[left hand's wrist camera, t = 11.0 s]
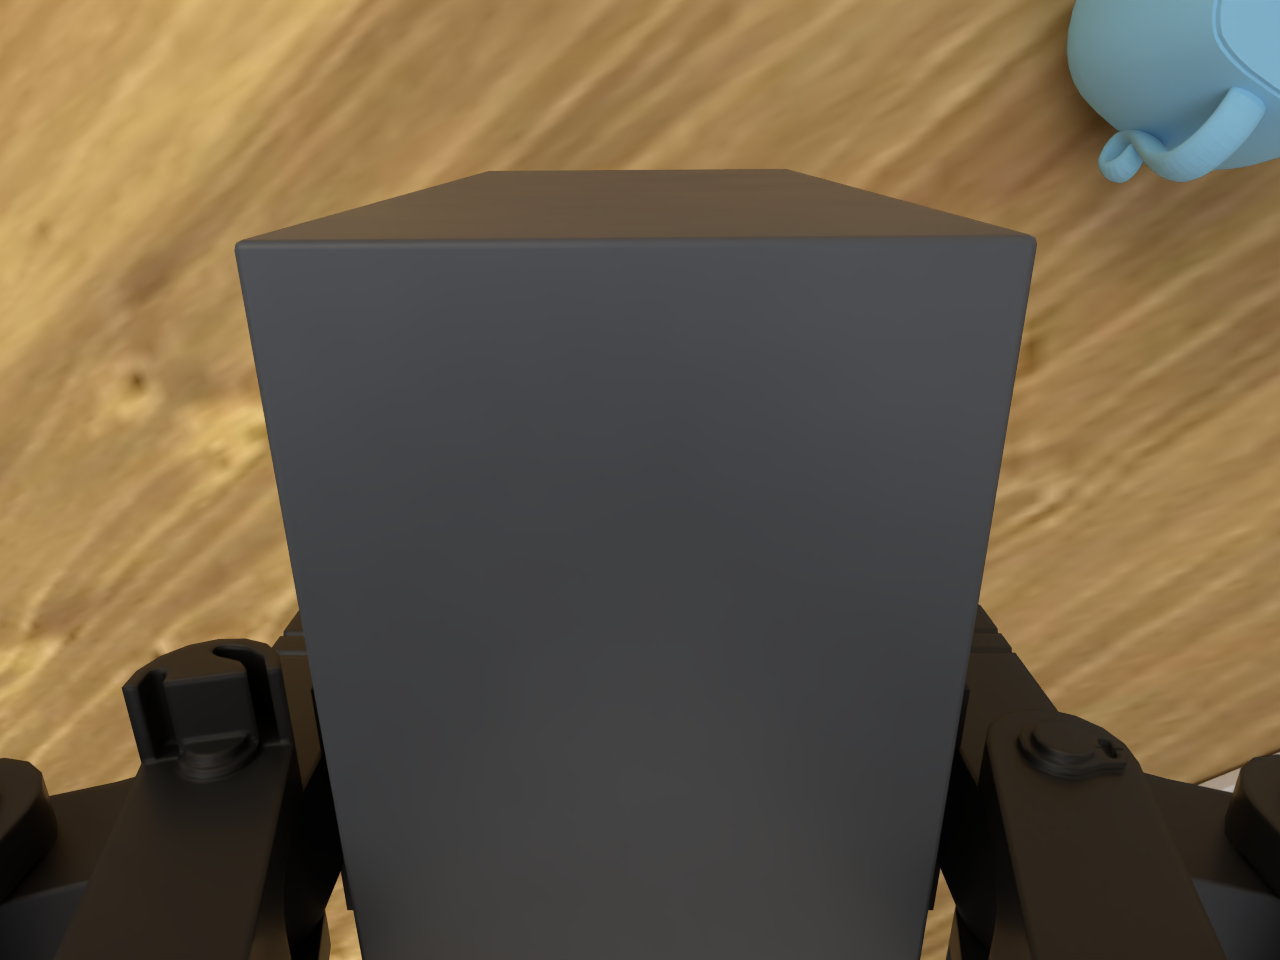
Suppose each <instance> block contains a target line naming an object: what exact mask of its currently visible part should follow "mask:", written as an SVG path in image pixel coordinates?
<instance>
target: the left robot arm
mask: <svg viewBox="0 0 1280 960" xmlns="http://www.w3.org/2000/svg"><path fill="white" fill-rule="evenodd" d="M122 691H123V695H124V698H125V702H126V706H127V710H128V714H129V717H130V721H131V725H132V729H133V733H134V736H135V740H136V744H137V748H138V752H139V755H140V759H141V763H142V764H141V766H140V768H139V770H138V772H137V775H136V777H133V778H129V779H126V780H122V781H118V782H115V783H110V784H105V785H100V786H95V787H91V788H86V789H81V790H76V791H72V792H67V793H62V794H57V795H53V796H49V795H48V791H47V788H46V785H45V782H44V779H43V776H42V772H40V771H39V770H38V769H37V768H36V767H34V766H33V765H32V764H31V763H30V762H27V761H21V760H15V759H9V758H0V960H329V956H330V947H331V943H330V936H329V929H328V923H327V917H326V912H325V908H326V906H327V903H328V901H329V898H330V896H331V893H332V891H333V888H334V886H335V884H336V881H337V879H338V876H339V874H340V871H341V875H342V881H343V887H344V893H345V899H346V905H347V910H353V905H352V900H351V894H350V889H349V883H348V878H347V872H346V866H345V861H344V855H343V850H342V844H341V839H340V833H339V828H338V822H337V816H336V811H335V805H334V800H333V794H332V789H331V783H330V778H329V772H328V766H327V761H326V755H325V750H324V744H323V739H322V733H321V728H320V722H319V716H318V711H317V705H316V700H315V694H314V689H313V683H312V678H311V672H310V666H309V661H308V655H307V650H306V644H305V639H304V633H303V628H302V622H301V617H300V611H298V612H297V614H296V615H295V617H294V618H293V619H292V621H291V622H290V623H289V625H288V626H287V628H286V629H285V630H284V635H283V636H280V637H279V639H278V640H277V641H276V643H275V644H274V646H273V647H272V648H271V647H270V646H269V645H268V644H266V643H262V642H257V641H253V640H249V639H217V640H212V641H207V642H202V643H197V644H192V645H188V646H185V647H183V648H180V649H178V650H175V651H172V652H170V653H167V654H165V655H162V656H160V657H158V658H157V659H155V660H153V661H152V662H150V663H149V664H147V665H145V666H144V667H142V668H141V669H139V670H137V671H136V672H135V673H134V674H133V676H132V677H131V678H130V679H129V680H128V681H127V682H126V683H125V685H124V686H123V687H122ZM940 868H941V870H942V873H943V875H944V878H945V880H946V883H947V885H948V887H949V890H950V892H951V895H952V897H953V899H954V902H955V904H956V906H955V912H954V917H953V923H952V929H951V934H950V940H949V945H948V951H947V956H946V960H1280V754H1275V755H1269V756H1262V757H1256V758H1253V759H1252V760H1250V761H1249V762H1248V763H1247V764H1246V765H1244V766H1243V767H1242V768H1241V769H1240V772H1239V775H1238V778H1237V781H1236V785H1235V788H1234V791H1233V793H1232V792H1227V791H1222V790H1218V789H1213V788H1208V787H1203V786H1198V785H1194V784H1189V783H1184V782H1179V781H1174V780H1170V779H1165V778H1162V777H1158V776H1154V775H1151V774H1147V773H1143V771H1142V769H1141V767H1140V764H1139V762H1138V761H1137V760H1136V758H1135V757H1134V756H1133V754H1132V753H1131V752H1130V750H1129V749H1128V748H1127V746H1126V745H1125V744H1124V743H1123V742H1121V741H1120V740H1119V739H1117V738H1116V737H1114V736H1113V735H1112V734H1110V733H1109V732H1108V731H1106V730H1105V729H1103V728H1102V727H1099V726H1097V725H1095V724H1093V723H1090V722H1088V721H1086V720H1084V719H1081V718H1079V717H1077V716H1074V715H1070V714H1066V713H1061V712H1058V711H1057V709H1056V708H1055V706H1054V705H1053V704H1052V702H1051V701H1050V700H1049V698H1048V697H1047V696H1046V694H1045V693H1044V691H1043V690H1042V689H1041V687H1040V686H1039V685H1038V683H1037V682H1036V680H1035V679H1034V678H1033V676H1032V675H1031V674H1030V672H1029V671H1028V670H1027V668H1026V667H1025V665H1024V664H1023V663H1022V661H1021V660H1020V659H1019V657H1018V656H1017V655H1016V653H1012V648H1011V646H1010V645H1009V644H1008V642H1007V641H1006V640H1005V638H1004V637H1003V635H1002V634H1001V633H998V629H997V627H996V626H995V624H994V623H993V622H992V620H991V619H990V618H989V616H988V615H987V614H986V612H985V611H984V609H983V608H982V607H981V606H980V605H979V604H978V608H977V614H976V620H975V626H974V632H973V638H972V645H971V651H970V657H969V663H968V669H967V675H966V681H965V687H964V693H963V700H962V706H961V712H960V718H959V724H958V730H957V736H956V742H955V749H954V755H953V761H952V767H951V773H950V779H949V785H948V791H947V798H946V804H945V810H944V816H943V822H942V828H941V834H940V840H939V846H938V853H937V859H936V865H935V871H934V877H933V883H932V889H931V895H930V902H929V908H928V910H933V908H934V902H935V897H936V891H937V885H938V879H939V873H940Z"/></svg>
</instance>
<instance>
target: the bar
mask: <svg viewBox="0 0 1280 960" xmlns="http://www.w3.org/2000/svg"><path fill="white" fill-rule="evenodd" d="M1036 247H1037V244H1036V239H1035V237H1033V236H1031V235H1028V234H1025V233H1021V232H1017V231H1014V230H1010V229H1006V228H1002V227H999V226H995V225H991V224H988V223H984V222H980V221H976V220H973V219H969V218H965V217H962V216H958V215H954V214H951V213H947V212H943V211H939V210H936V209H932V208H928V207H925V206H921V205H917V204H913V203H910V202H906V201H902V200H899V199H895V198H891V197H888V196H884V195H880V194H876V193H873V192H869V191H865V190H862V189H858V188H854V187H850V186H847V185H843V184H839V183H836V182H832V181H828V180H825V179H821V178H817V177H813V176H810V175H806V174H802V173H799V172H795V171H791V170H787V169H738V170H593V171H488V172H484V173H481V174H477V175H474V176H470V177H466V178H463V179H459V180H456V181H452V182H448V183H445V184H441V185H438V186H434V187H431V188H427V189H423V190H420V191H416V192H413V193H409V194H405V195H402V196H398V197H395V198H391V199H387V200H384V201H380V202H377V203H373V204H370V205H366V206H362V207H359V208H355V209H352V210H348V211H345V212H341V213H337V214H334V215H330V216H327V217H323V218H319V219H316V220H312V221H309V222H305V223H302V224H298V225H294V226H291V227H287V228H284V229H280V230H276V231H273V232H269V233H266V234H262V235H258V236H255V237H251V238H248V239H244V240H241V241H239V242H237V243H236V245H235V256H236V261H237V267H238V272H239V278H240V283H241V289H242V294H243V300H244V306H245V311H246V317H247V322H248V328H249V333H250V339H251V344H252V350H253V355H254V361H255V367H256V372H257V378H258V383H259V389H260V394H261V400H262V405H263V411H264V417H265V422H266V428H267V433H268V439H269V444H270V450H271V455H272V461H273V467H274V472H275V478H276V483H277V489H278V494H279V500H280V505H281V511H282V517H283V522H284V528H285V533H286V539H287V544H288V550H289V555H290V561H291V567H292V572H293V578H294V583H295V589H296V594H297V600H298V605H299V611H300V617H301V622H302V628H303V633H304V639H305V644H306V650H307V655H308V661H309V666H310V672H311V678H312V683H313V689H314V694H315V700H316V705H317V711H318V716H319V722H320V728H321V733H322V739H323V744H324V750H325V755H326V761H327V766H328V772H329V778H330V783H331V789H332V794H333V800H334V805H335V811H336V816H337V822H338V828H339V833H340V839H341V844H342V850H343V855H344V861H345V866H346V872H347V878H348V883H349V889H350V894H351V900H352V905H353V911H354V916H355V922H356V928H357V933H358V939H359V944H360V950H361V955H362V960H920V957H921V950H922V944H923V938H924V932H925V926H926V920H927V914H928V908H929V902H930V895H931V889H932V883H933V877H934V871H935V865H936V859H937V853H938V846H939V840H940V834H941V828H942V822H943V816H944V810H945V804H946V798H947V791H948V785H949V779H950V773H951V767H952V761H953V755H954V749H955V742H956V736H957V730H958V724H959V718H960V712H961V706H962V700H963V693H964V687H965V681H966V675H967V669H968V663H969V657H970V651H971V645H972V638H973V632H974V626H975V620H976V614H977V608H978V602H979V596H980V589H981V583H982V577H983V571H984V565H985V559H986V553H987V547H988V541H989V534H990V528H991V522H992V516H993V510H994V504H995V498H996V492H997V485H998V479H999V473H1000V467H1001V461H1002V455H1003V449H1004V443H1005V436H1006V430H1007V424H1008V418H1009V412H1010V406H1011V400H1012V394H1013V388H1014V381H1015V375H1016V369H1017V363H1018V357H1019V351H1020V345H1021V339H1022V332H1023V326H1024V320H1025V314H1026V308H1027V302H1028V296H1029V290H1030V284H1031V277H1032V271H1033V265H1034V259H1035V253H1036Z"/></svg>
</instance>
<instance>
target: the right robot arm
mask: <svg viewBox="0 0 1280 960" xmlns="http://www.w3.org/2000/svg"><path fill="white" fill-rule="evenodd" d="M1276 754H1280V752H1278V753H1276ZM1273 755H1275V754H1273ZM1241 768H1242V767H1241ZM1241 768H1238V769H1236V770H1233V771H1231V772H1229V773H1226V774H1224V775H1221V776H1219V777H1216V778H1214V779H1211V780H1209V781H1206V782H1204V783H1201V784H1199V785H1198V786H1203V787H1208V788H1213V789H1218V790H1222V791H1227V792H1232V793H1233V791H1234V788H1235V785H1236V781H1237V778H1238V775H1239V772H1240V769H1241Z"/></svg>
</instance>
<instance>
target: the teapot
mask: <svg viewBox="0 0 1280 960" xmlns="http://www.w3.org/2000/svg"><path fill="white" fill-rule="evenodd" d="M1067 58H1068V67H1069V70H1070V73H1071V77H1072V80H1073V82H1074V84H1075V86H1076V87H1077V89H1078V91H1079V93H1080V95H1081V96H1082V97H1083V98H1084V99H1085V100H1086V101H1087V102H1088V104H1089V105H1090V106H1091V107H1092V108H1093V109H1094V110H1095V111H1096V112H1097V113H1098V114H1099V115H1100V116H1101V117H1103V118H1104V119H1105V120H1106V121H1107V122H1108V123H1109V124H1111V125H1112V126H1113V127H1114V128H1115V129H1117V130H1118V132H1117V133H1116V134H1114V135H1113V136H1112V137H1111V138H1110V139H1109V141H1108V142H1107V143H1106V145H1105V146H1104V148H1103V150H1102V152H1101V154H1100V156H1099V159H1098V167H1099V170H1100V171H1101V173H1102V174H1103V176H1104V177H1105V178H1106V179H1108V180H1110V181H1113V182H1117V183H1122V182H1125V181H1127V180H1129V179H1130V178H1131V177H1132V176H1133V175H1134V174H1135V173H1136V172H1137V171H1138V169H1139V168H1140V167H1141V165H1142V164H1143V162H1144V163H1145V164H1146V165H1147V166H1148V167H1149V168H1150V169H1151V170H1152V171H1153V172H1155V173H1156V174H1157V175H1159V176H1161V177H1163V178H1165V179H1167V180H1171V181H1176V182H1186V181H1192V180H1195V179H1197V178H1200V177H1202V176H1204V175H1206V174H1207V173H1209V172H1211V171H1212V170H1224V169H1234V168H1240V167H1246V166H1251V165H1255V164H1258V163H1262V162H1266V161H1269V160H1272V159H1276V158H1279V157H1280V0H1076V1H1075V5H1074V8H1073V11H1072V16H1071V21H1070V25H1069V30H1068V39H1067Z"/></svg>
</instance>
